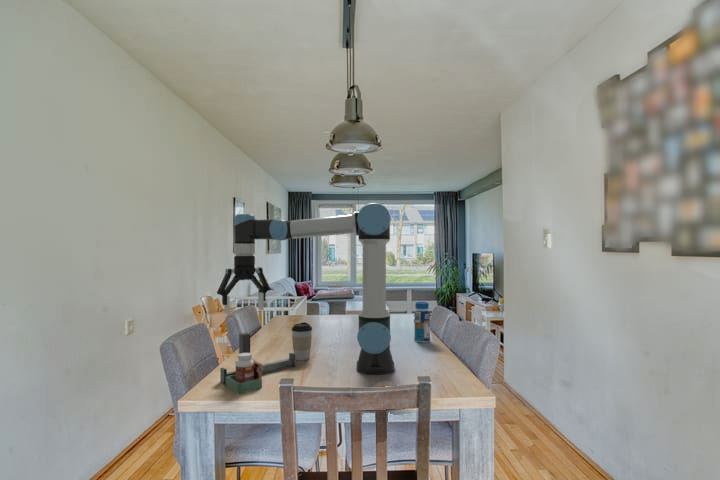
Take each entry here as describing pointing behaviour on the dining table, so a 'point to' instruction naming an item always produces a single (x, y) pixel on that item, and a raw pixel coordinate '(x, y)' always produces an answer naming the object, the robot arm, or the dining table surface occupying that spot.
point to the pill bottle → (244, 368)
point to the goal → (242, 384)
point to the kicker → (245, 348)
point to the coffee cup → (302, 340)
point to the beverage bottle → (422, 322)
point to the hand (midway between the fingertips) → (244, 311)
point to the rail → (265, 367)
